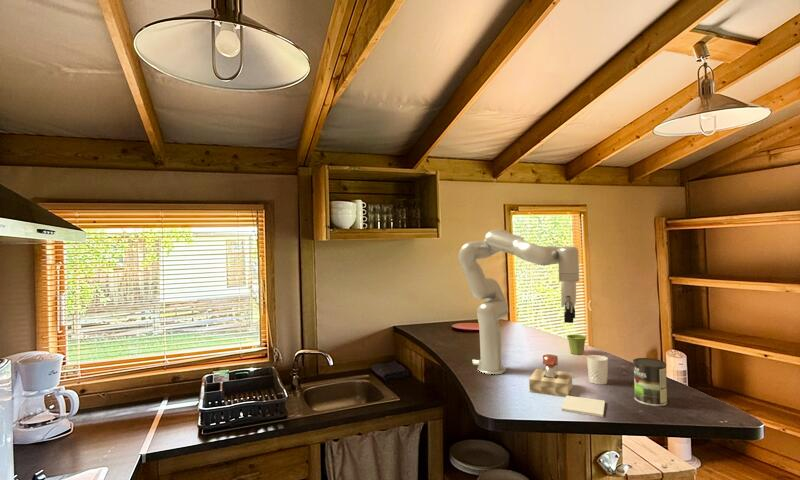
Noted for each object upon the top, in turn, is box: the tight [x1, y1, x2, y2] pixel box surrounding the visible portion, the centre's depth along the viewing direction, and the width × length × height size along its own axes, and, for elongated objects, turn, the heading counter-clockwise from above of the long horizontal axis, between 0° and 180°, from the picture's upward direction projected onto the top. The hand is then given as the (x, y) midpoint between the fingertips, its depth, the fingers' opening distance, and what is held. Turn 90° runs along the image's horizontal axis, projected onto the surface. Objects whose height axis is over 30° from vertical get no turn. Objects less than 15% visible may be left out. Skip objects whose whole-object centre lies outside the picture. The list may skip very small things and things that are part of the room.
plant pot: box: [566, 334, 587, 356], centre depth 213 cm, size 9×9×9 cm
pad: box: [560, 395, 606, 418], centre depth 147 cm, size 13×13×1 cm
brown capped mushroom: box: [542, 354, 559, 379], centre depth 166 cm, size 6×6×13 cm
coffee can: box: [632, 357, 668, 407], centre depth 150 cm, size 10×10×14 cm
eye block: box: [528, 368, 573, 398], centre depth 166 cm, size 14×14×5 cm
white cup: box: [586, 354, 609, 386], centre depth 171 cm, size 8×8×10 cm
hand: (569, 320), depth 167 cm, fingers open, 9 cm apart
